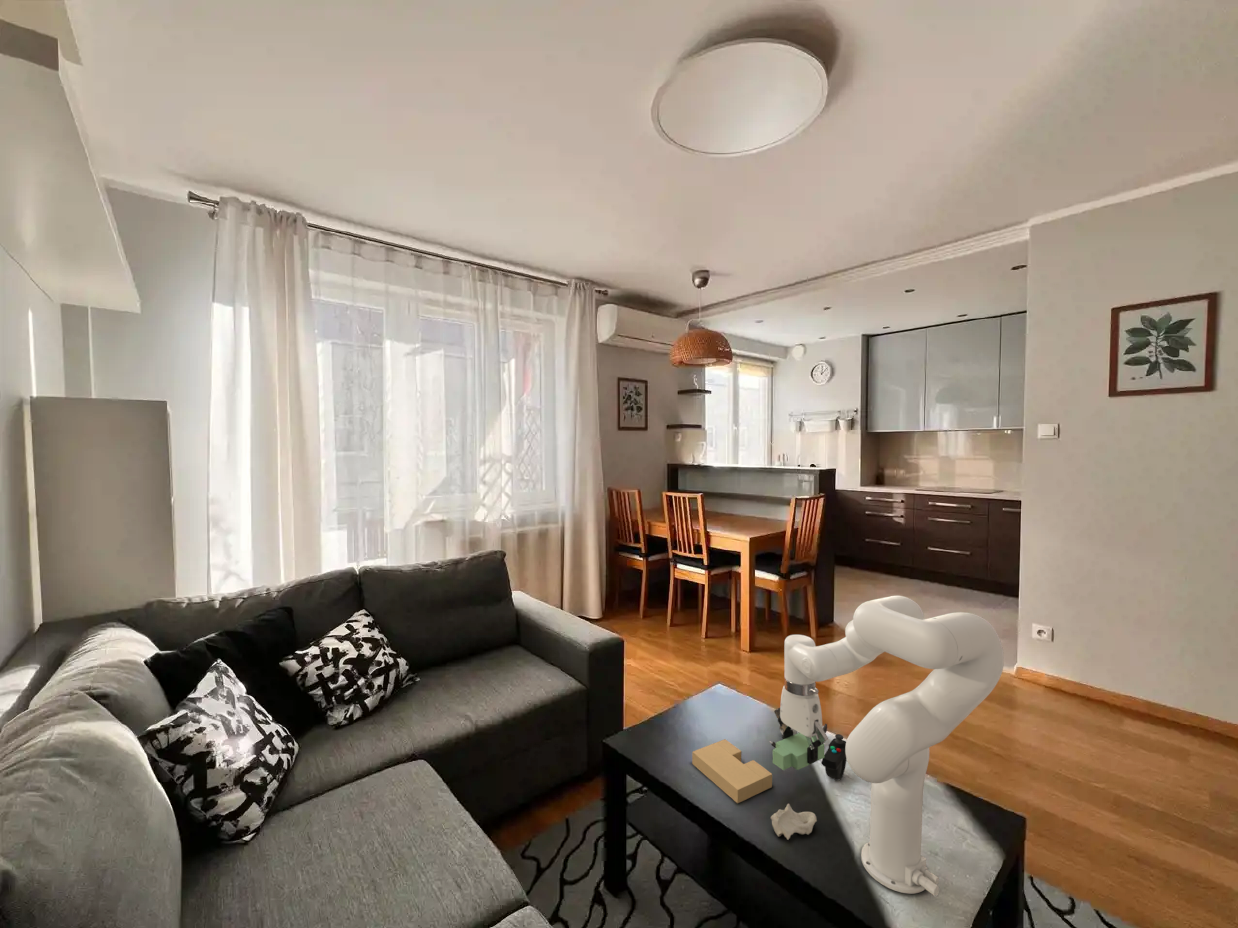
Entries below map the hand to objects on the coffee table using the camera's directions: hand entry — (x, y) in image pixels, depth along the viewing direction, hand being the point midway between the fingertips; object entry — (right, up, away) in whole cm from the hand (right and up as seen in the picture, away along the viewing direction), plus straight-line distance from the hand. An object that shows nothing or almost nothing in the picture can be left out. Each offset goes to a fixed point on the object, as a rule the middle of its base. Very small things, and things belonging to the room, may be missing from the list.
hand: (800, 753), depth 132 cm
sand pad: (-16, -10, +7) cm, 20 cm away
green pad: (-1, -1, -1) cm, 2 cm away
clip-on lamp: (+7, -9, +21) cm, 24 cm away
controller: (+11, -10, +5) cm, 16 cm away
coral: (-6, -11, -13) cm, 18 cm away
